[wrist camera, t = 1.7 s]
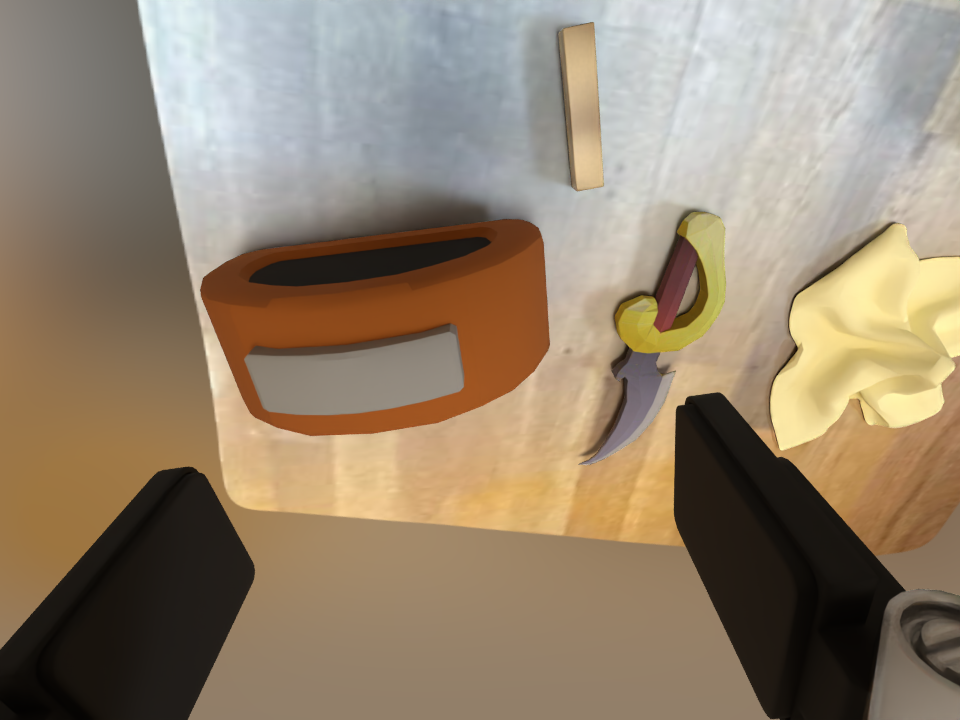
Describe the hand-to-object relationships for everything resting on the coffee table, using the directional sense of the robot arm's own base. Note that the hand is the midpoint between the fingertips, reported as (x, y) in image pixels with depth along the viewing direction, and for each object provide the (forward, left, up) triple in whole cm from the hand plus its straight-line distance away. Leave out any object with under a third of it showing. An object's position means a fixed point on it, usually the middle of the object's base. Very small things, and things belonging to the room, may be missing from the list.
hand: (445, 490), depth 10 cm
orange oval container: (+5, -7, -32) cm, 33 cm away
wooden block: (-5, +9, -32) cm, 33 cm away
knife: (+15, +13, -32) cm, 37 cm away
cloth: (+19, +33, -32) cm, 49 cm away
